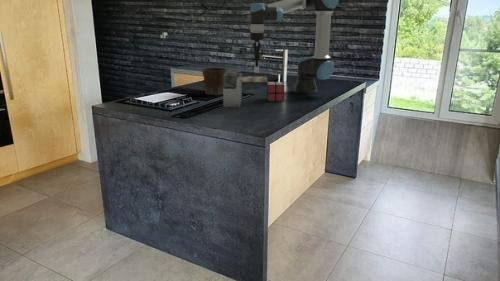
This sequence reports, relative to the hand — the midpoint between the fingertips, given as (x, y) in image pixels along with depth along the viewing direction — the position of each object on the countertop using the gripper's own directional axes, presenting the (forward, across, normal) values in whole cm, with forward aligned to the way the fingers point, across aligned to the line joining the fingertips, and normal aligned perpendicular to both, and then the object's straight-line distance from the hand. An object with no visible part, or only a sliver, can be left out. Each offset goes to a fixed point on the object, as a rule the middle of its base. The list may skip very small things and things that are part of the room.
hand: (256, 71), depth 224 cm
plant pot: (+19, -28, -27) cm, 43 cm away
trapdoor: (+7, 0, -6) cm, 10 cm away
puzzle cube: (+19, -11, +11) cm, 25 cm away
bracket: (+19, 0, -14) cm, 23 cm away
